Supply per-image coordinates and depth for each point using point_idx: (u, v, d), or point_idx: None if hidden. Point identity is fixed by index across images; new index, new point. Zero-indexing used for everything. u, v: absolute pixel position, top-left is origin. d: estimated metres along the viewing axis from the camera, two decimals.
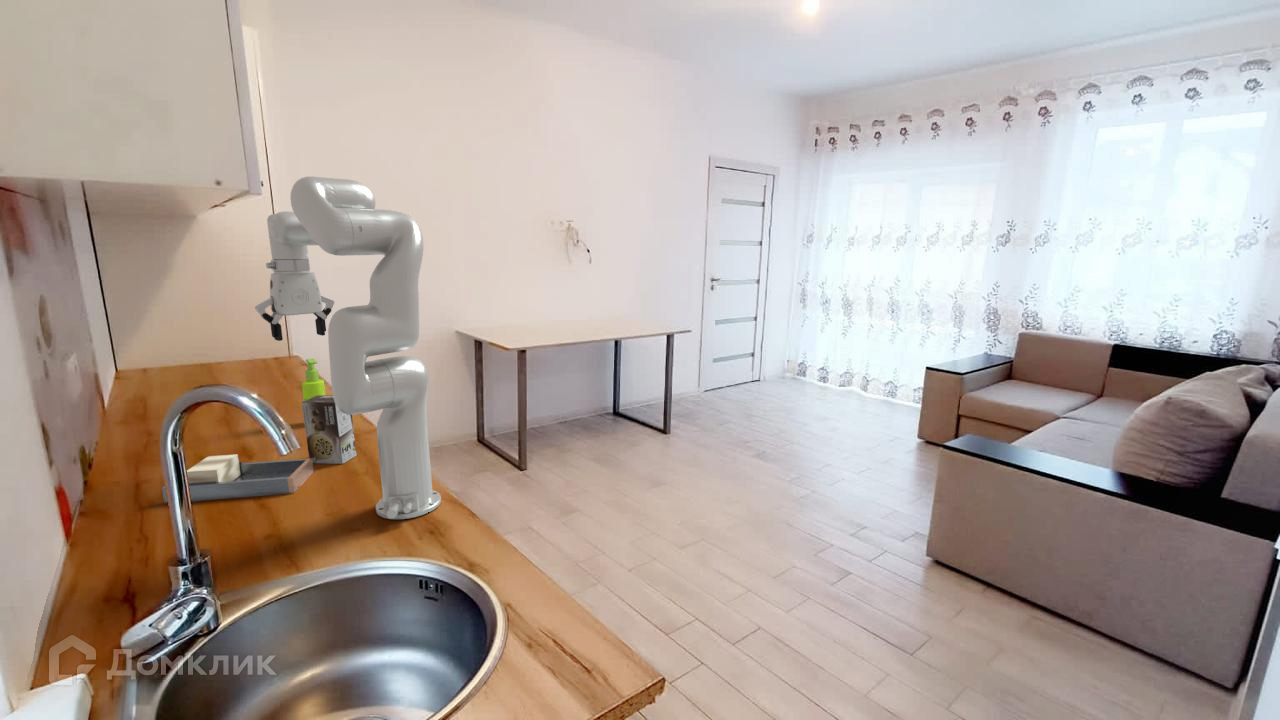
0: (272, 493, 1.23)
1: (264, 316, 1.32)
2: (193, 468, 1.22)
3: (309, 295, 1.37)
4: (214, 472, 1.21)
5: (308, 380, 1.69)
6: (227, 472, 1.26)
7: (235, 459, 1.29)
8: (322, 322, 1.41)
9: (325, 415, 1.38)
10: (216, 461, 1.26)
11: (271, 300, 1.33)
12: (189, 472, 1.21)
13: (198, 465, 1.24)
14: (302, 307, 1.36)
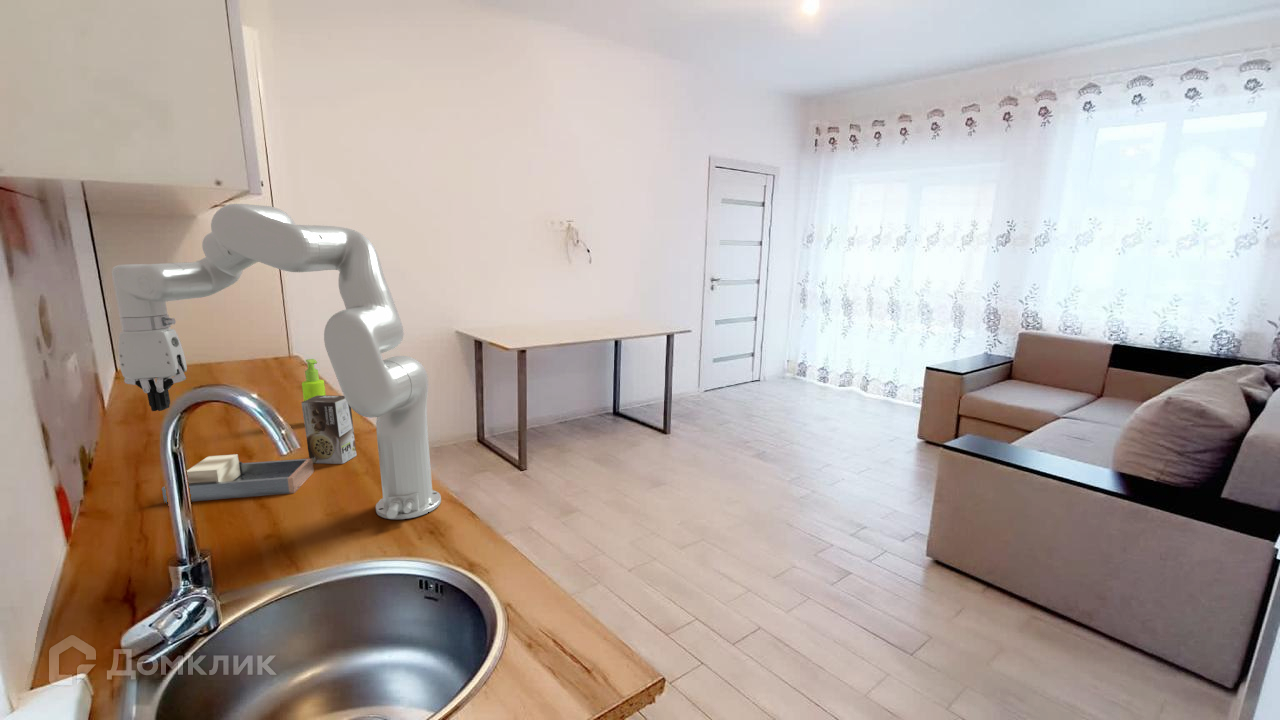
0: (272, 493, 1.23)
1: None
2: (193, 468, 1.22)
3: None
4: (214, 472, 1.21)
5: (308, 380, 1.69)
6: (227, 472, 1.26)
7: (235, 459, 1.29)
8: None
9: (325, 415, 1.38)
10: (216, 461, 1.26)
11: None
12: (189, 472, 1.21)
13: (198, 465, 1.24)
14: None
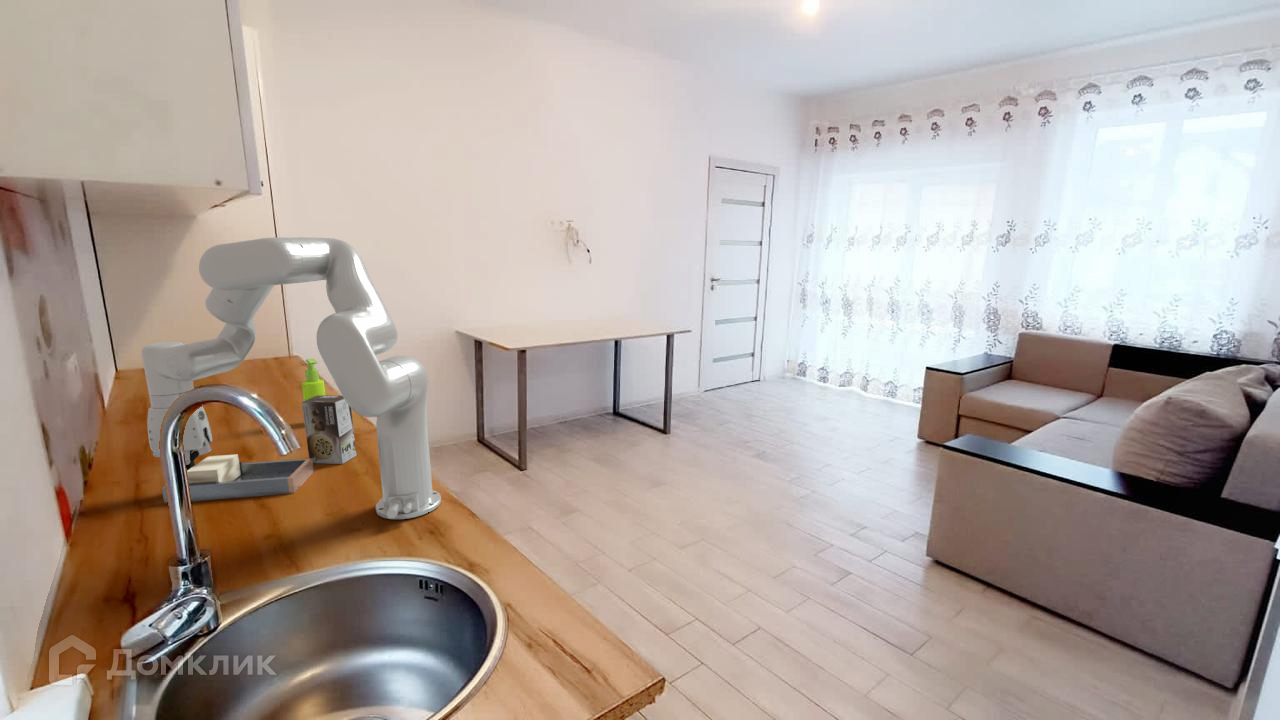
0: (272, 493, 1.23)
1: None
2: (193, 468, 1.22)
3: None
4: (214, 472, 1.22)
5: (308, 380, 1.69)
6: (227, 472, 1.26)
7: (235, 459, 1.29)
8: None
9: (325, 415, 1.38)
10: (216, 461, 1.26)
11: None
12: (189, 472, 1.21)
13: (198, 465, 1.24)
14: None
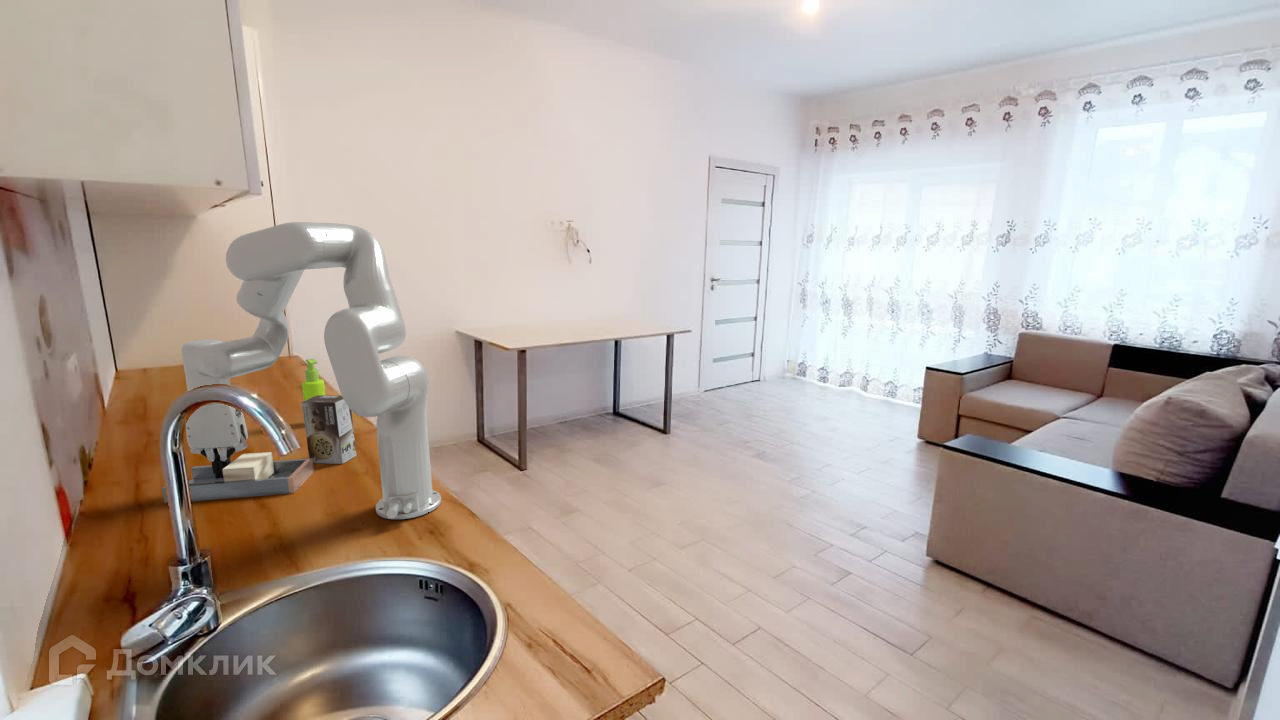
0: (272, 493, 1.23)
1: None
2: (230, 465, 1.24)
3: None
4: (251, 469, 1.23)
5: (308, 380, 1.69)
6: (262, 469, 1.27)
7: (269, 456, 1.31)
8: None
9: (325, 415, 1.38)
10: (251, 458, 1.28)
11: None
12: (226, 469, 1.22)
13: (234, 462, 1.25)
14: None
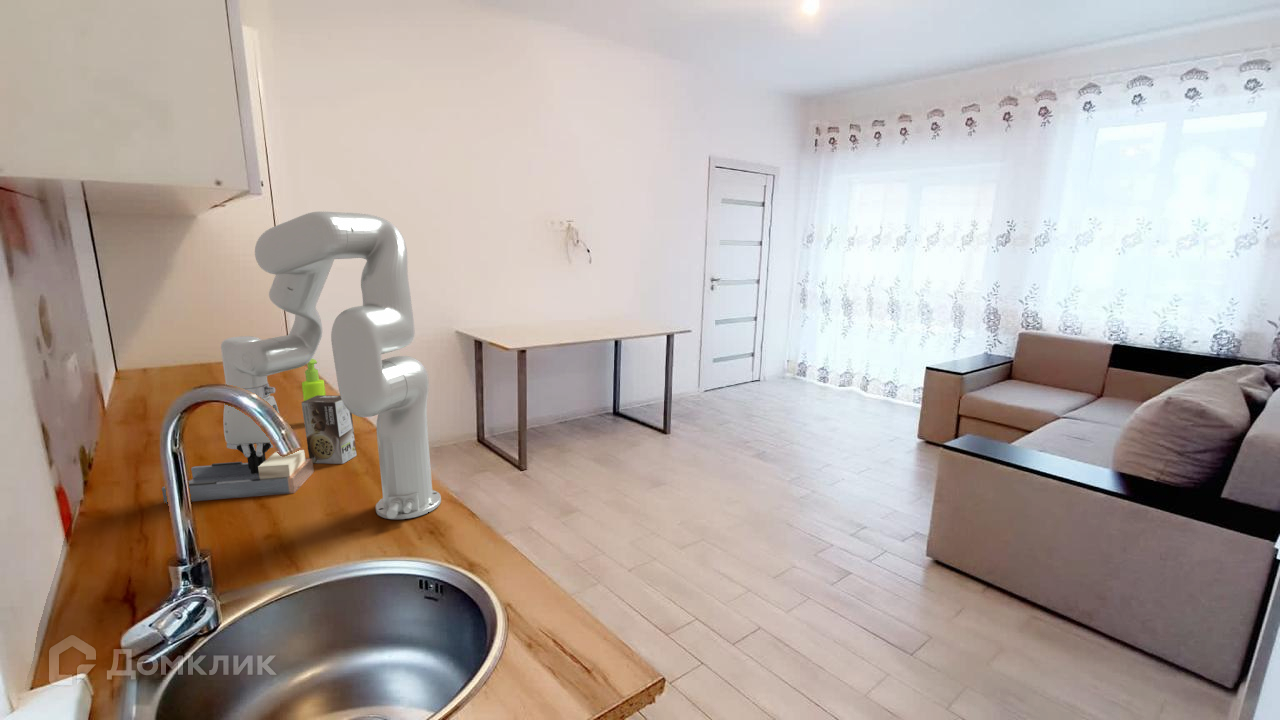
0: (272, 493, 1.23)
1: None
2: (265, 463, 1.25)
3: None
4: (286, 467, 1.24)
5: (308, 380, 1.69)
6: (296, 467, 1.29)
7: (302, 454, 1.32)
8: None
9: (325, 415, 1.38)
10: (285, 456, 1.29)
11: None
12: (262, 467, 1.23)
13: (269, 460, 1.27)
14: None
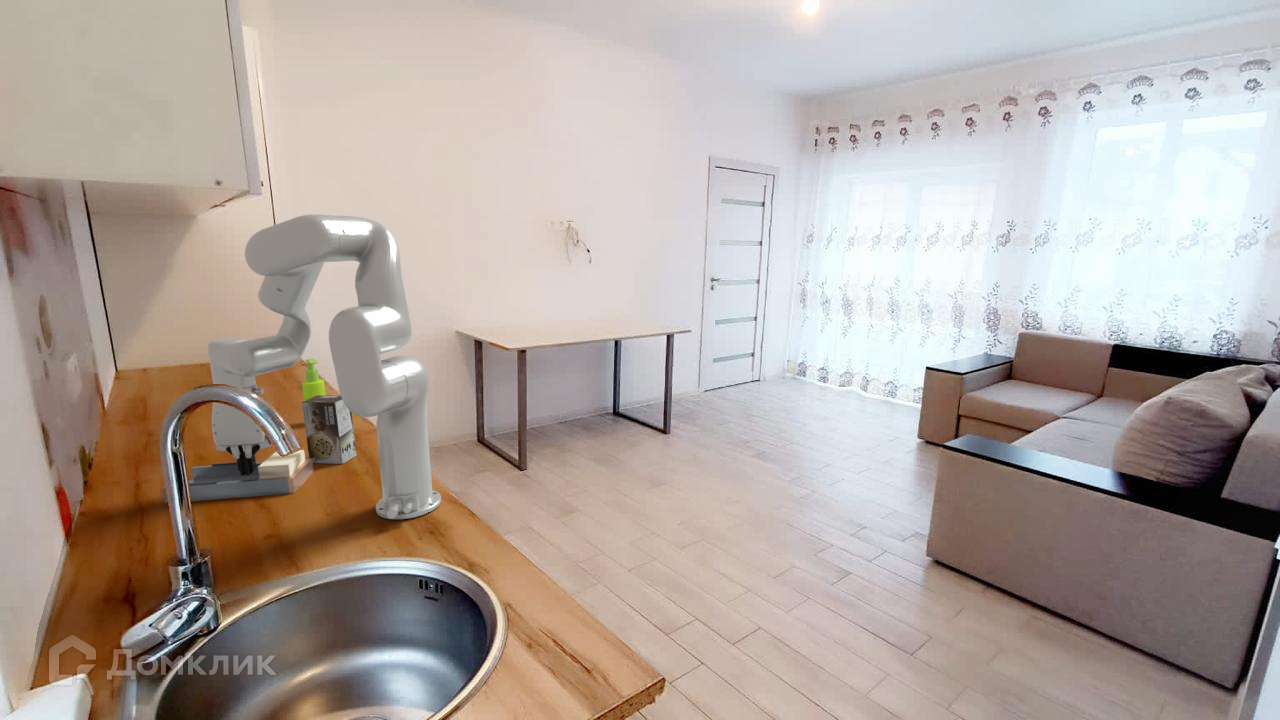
0: (272, 493, 1.23)
1: None
2: (265, 463, 1.25)
3: None
4: (286, 467, 1.24)
5: (308, 380, 1.69)
6: (296, 467, 1.29)
7: (302, 454, 1.32)
8: None
9: (325, 415, 1.38)
10: (285, 456, 1.29)
11: None
12: (262, 467, 1.23)
13: (269, 460, 1.27)
14: None
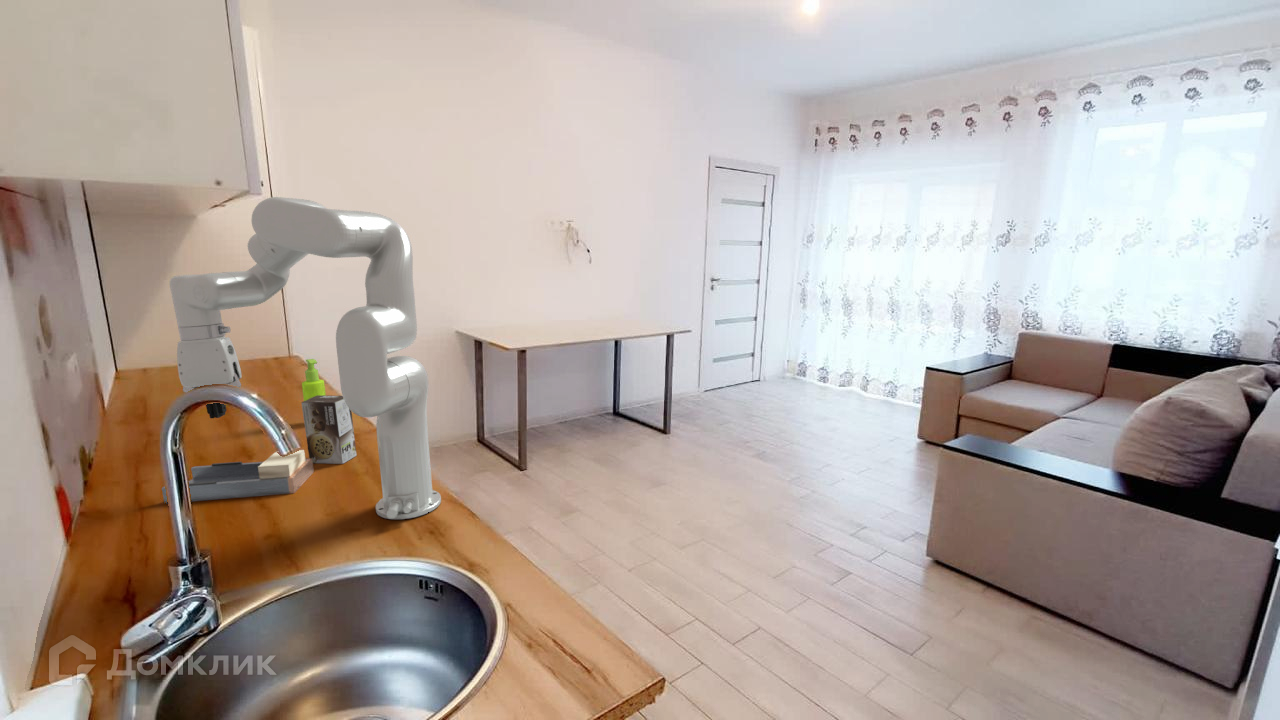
0: (272, 493, 1.23)
1: None
2: (265, 463, 1.25)
3: None
4: (286, 467, 1.24)
5: (308, 380, 1.69)
6: (296, 467, 1.29)
7: (302, 454, 1.32)
8: None
9: (325, 415, 1.38)
10: (285, 456, 1.29)
11: None
12: (262, 467, 1.23)
13: (269, 460, 1.27)
14: None
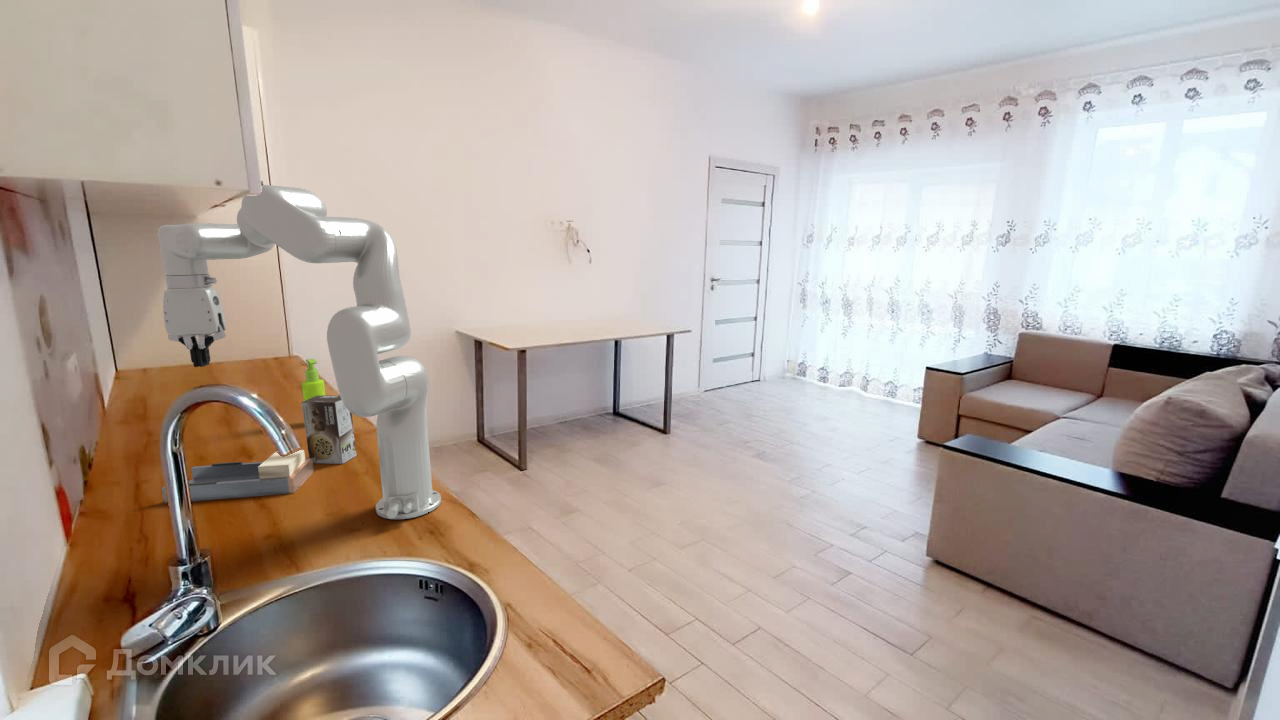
0: (272, 493, 1.23)
1: None
2: (265, 463, 1.25)
3: None
4: (286, 467, 1.24)
5: (308, 380, 1.69)
6: (296, 467, 1.29)
7: (302, 454, 1.32)
8: None
9: (325, 415, 1.38)
10: (285, 456, 1.29)
11: None
12: (262, 467, 1.23)
13: (269, 460, 1.27)
14: None
